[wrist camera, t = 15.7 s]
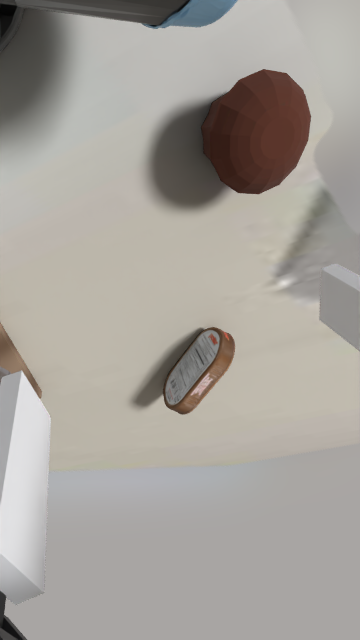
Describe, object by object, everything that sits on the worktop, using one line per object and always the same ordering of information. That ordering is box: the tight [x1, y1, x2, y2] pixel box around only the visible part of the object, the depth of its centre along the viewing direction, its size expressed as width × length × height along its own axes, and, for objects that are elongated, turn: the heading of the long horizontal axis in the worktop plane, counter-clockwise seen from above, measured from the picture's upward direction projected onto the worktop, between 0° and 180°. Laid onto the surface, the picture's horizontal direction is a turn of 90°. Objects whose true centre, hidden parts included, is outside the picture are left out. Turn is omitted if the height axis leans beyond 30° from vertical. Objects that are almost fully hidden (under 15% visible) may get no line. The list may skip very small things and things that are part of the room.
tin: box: [163, 327, 235, 414], centre depth 53 cm, size 15×3×8 cm, turn 143°
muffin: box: [201, 69, 311, 194], centre depth 37 cm, size 12×11×10 cm
